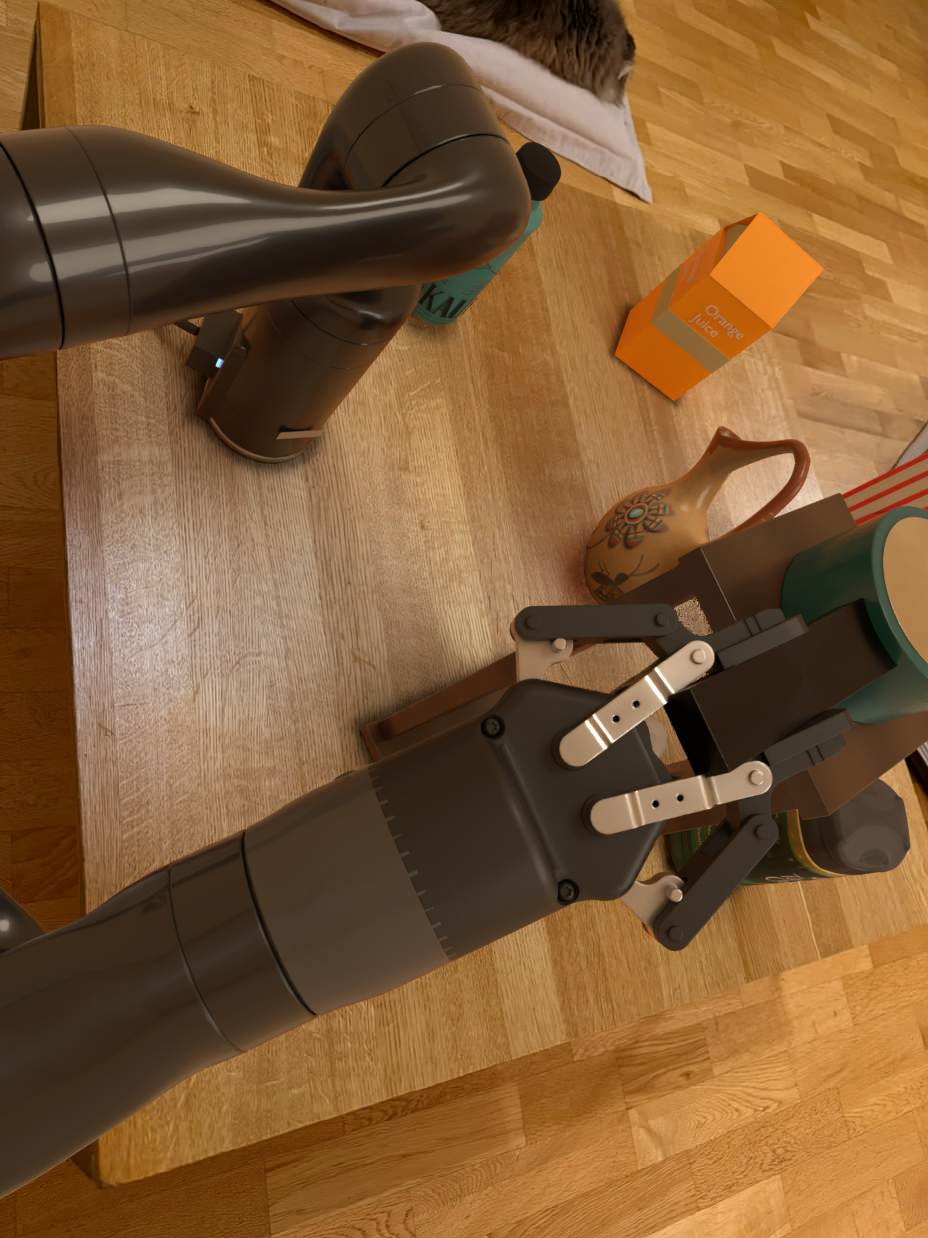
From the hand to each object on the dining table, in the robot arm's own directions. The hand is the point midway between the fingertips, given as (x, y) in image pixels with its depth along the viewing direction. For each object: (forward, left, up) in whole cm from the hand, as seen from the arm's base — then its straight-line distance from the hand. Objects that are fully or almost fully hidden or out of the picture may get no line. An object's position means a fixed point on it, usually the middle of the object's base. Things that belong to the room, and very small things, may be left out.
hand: (816, 670), depth 36 cm
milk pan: (+3, +3, -5) cm, 7 cm away
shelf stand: (+8, +7, -42) cm, 43 cm away
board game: (+38, +30, -42) cm, 64 cm away
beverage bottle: (-6, +49, -42) cm, 64 cm away
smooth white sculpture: (+23, +13, -42) cm, 50 cm away
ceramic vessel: (+18, +30, -42) cm, 55 cm away
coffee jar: (+33, +8, -42) cm, 54 cm away
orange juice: (+21, +60, -42) cm, 76 cm away
